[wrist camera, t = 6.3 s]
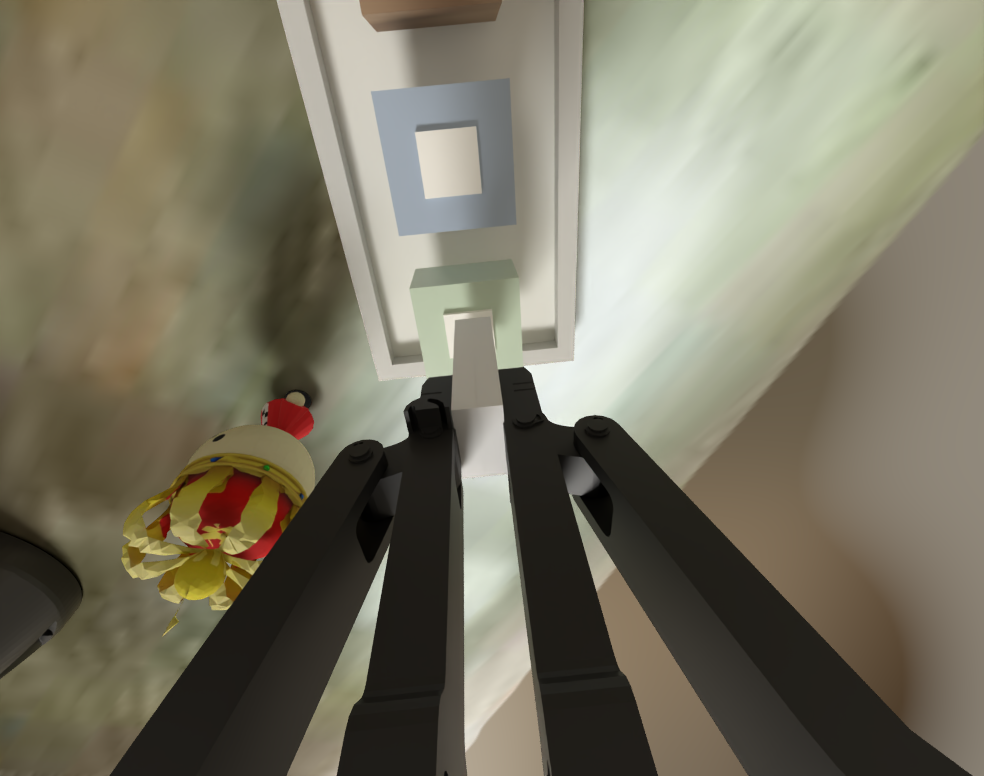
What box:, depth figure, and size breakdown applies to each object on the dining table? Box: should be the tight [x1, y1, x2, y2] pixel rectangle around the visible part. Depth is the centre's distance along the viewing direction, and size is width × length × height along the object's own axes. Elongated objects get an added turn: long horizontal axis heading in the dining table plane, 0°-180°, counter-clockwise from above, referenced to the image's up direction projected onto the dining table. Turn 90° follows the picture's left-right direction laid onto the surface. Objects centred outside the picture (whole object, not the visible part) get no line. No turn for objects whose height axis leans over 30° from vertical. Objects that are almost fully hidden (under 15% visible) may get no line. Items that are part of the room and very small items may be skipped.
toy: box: [121, 390, 315, 637], centre depth 22 cm, size 7×7×15 cm
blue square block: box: [371, 78, 517, 236], centre depth 17 cm, size 5×5×3 cm
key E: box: [409, 259, 523, 379], centre depth 20 cm, size 5×5×3 cm
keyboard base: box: [277, 0, 584, 381], centre depth 18 cm, size 12×30×2 cm, turn 5°
